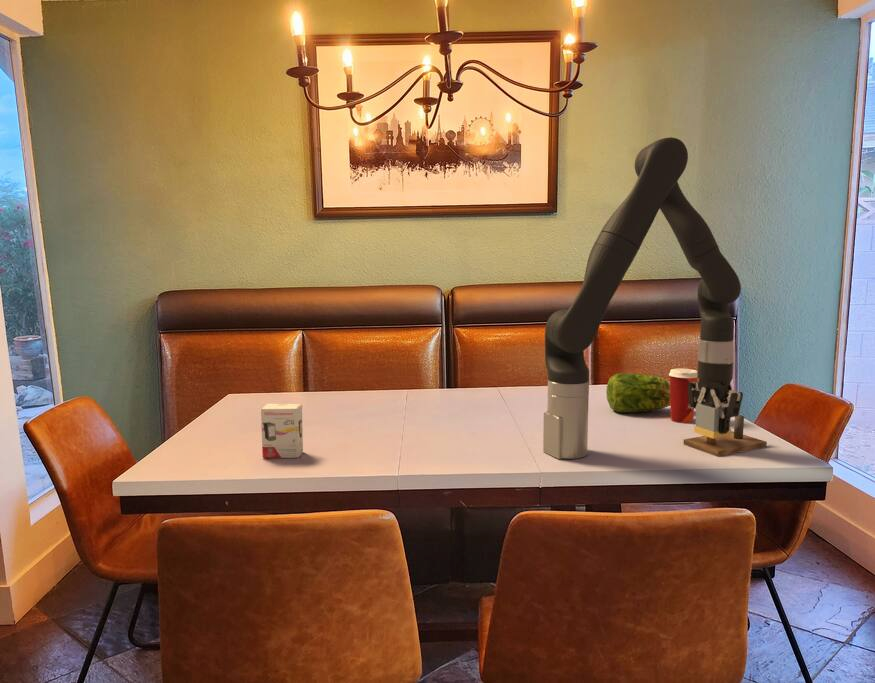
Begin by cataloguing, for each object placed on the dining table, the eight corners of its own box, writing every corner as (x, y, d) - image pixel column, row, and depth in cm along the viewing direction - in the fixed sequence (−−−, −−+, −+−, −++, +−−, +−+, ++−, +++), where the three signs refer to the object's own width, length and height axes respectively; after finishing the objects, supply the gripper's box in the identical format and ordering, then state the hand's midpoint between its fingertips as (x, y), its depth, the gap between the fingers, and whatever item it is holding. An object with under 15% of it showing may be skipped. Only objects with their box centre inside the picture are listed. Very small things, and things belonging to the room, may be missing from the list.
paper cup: (699, 424, 163) (702, 373, 161) (669, 423, 164) (671, 372, 162) (693, 417, 170) (695, 368, 168) (664, 416, 172) (666, 367, 170)
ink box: (261, 459, 139) (258, 409, 138) (267, 451, 144) (265, 403, 143) (299, 458, 139) (297, 408, 138) (304, 451, 144) (302, 403, 143)
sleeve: (713, 438, 139) (714, 409, 138) (694, 432, 144) (695, 403, 143) (730, 435, 141) (732, 406, 140) (711, 429, 147) (712, 401, 146)
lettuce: (685, 416, 171) (687, 377, 169) (612, 417, 172) (613, 377, 170) (671, 406, 182) (673, 369, 181) (602, 407, 183) (603, 370, 181)
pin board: (717, 456, 137) (719, 427, 136) (683, 444, 146) (684, 417, 145) (766, 446, 144) (768, 419, 143) (730, 435, 153) (732, 409, 152)
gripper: (679, 356, 145) (676, 424, 148) (730, 365, 132) (726, 440, 135) (702, 353, 148) (699, 420, 151) (754, 362, 135) (750, 435, 138)
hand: (712, 429), depth 143 cm, fingers closed on sleeve, 5 cm apart
